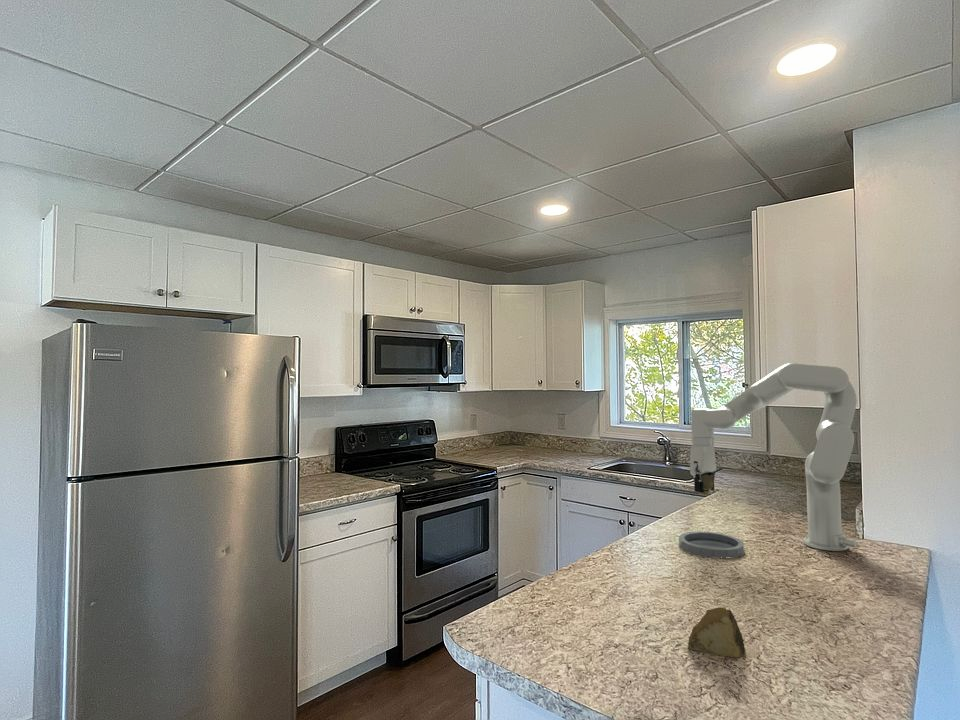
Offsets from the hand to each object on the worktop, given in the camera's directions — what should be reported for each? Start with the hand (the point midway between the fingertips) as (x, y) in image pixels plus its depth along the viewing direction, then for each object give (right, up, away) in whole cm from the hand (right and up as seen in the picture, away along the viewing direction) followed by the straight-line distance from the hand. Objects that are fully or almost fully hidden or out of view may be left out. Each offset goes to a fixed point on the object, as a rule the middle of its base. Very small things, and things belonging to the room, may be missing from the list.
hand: (704, 490), depth 192 cm
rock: (-33, -13, -83) cm, 90 cm away
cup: (0, -2, 0) cm, 2 cm away
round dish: (-5, -15, -18) cm, 24 cm away
